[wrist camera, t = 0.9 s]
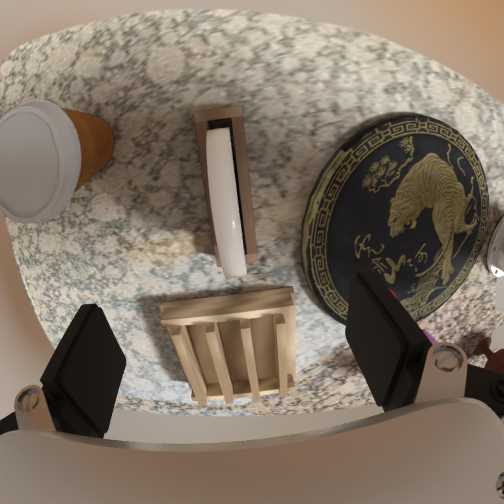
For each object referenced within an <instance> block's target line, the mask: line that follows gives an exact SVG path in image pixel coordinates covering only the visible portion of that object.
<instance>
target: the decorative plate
mask: <svg viewBox="0 0 504 504" xmlns="http://www.w3.org/2000/svg"><path fill="white" fill-rule="evenodd" d="M488 216H489V193H488V187H487V182H486V176H485V173H484V170H483V168H482V165H481V162H480V160H479V158H478V156H477V154H476V153H475V151H474V150H473V148H472V146H471V145H470V143H469V142H468V141H467V140H466V139H465V138H464V137H463V136H462V135H461V134H460V133H459V132H458V131H457V130H455V129H454V128H452V127H450V126H449V125H447V124H445V123H444V122H442V121H440V120H437V119H433V118H430V117H426V116H423V115H396V116H392V117H389V118H385V119H381V120H378V121H376V122H375V123H373V124H371V125H369V126H367V127H365V128H364V129H362V130H360V131H358V132H357V133H356V134H355V135H353V136H352V137H351V138H350V139H349V140H348V141H347V142H345V143H344V144H343V145H342V146H341V147H340V148H339V149H338V150H337V151H336V153H335V154H334V155H333V157H332V158H331V159H330V161H329V162H328V163H327V165H326V166H325V167H324V169H323V170H322V172H321V174H320V176H319V178H318V180H317V182H316V184H315V186H314V188H313V190H312V192H311V194H310V197H309V201H308V205H307V208H306V212H305V215H304V219H303V224H302V236H301V255H302V264H303V271H304V274H305V277H306V279H307V282H308V285H309V288H310V290H311V292H312V293H313V295H314V297H315V298H316V300H317V301H318V303H319V304H320V306H321V307H322V308H323V309H324V310H325V311H326V312H327V313H328V314H329V315H330V316H331V317H332V318H333V319H334V320H336V321H338V322H340V323H342V324H343V325H345V326H346V321H347V313H348V303H349V293H350V282H351V277H352V276H353V275H355V273H356V271H359V270H365V269H372V270H373V271H374V272H375V273H376V274H377V275H378V277H379V278H380V279H381V280H382V282H383V283H384V284H385V285H386V286H387V288H388V289H389V290H390V291H391V293H392V294H393V295H394V296H395V298H396V299H397V300H398V301H399V302H400V303H401V304H402V305H403V306H404V308H405V309H406V310H407V312H408V313H409V314H410V315H411V317H412V318H413V319H414V321H415V322H418V321H419V320H421V319H423V318H425V317H427V316H428V315H430V314H431V313H433V312H434V311H435V310H437V309H438V308H439V307H441V306H442V305H443V304H444V303H445V302H446V301H447V300H448V299H449V298H450V297H451V296H452V295H453V294H454V293H455V292H456V291H457V289H458V288H459V287H460V286H461V284H462V283H463V282H464V280H465V279H466V277H467V276H468V274H469V272H470V271H471V269H472V267H473V266H474V264H475V262H476V259H477V257H478V255H479V252H480V250H481V248H482V244H483V241H484V238H485V234H486V230H487V224H488Z"/></svg>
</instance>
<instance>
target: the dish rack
mask: <svg viewBox="0 0 504 504" xmlns="http://www.w3.org/2000/svg"><path fill="white" fill-rule="evenodd" d="M160 310H161V313H162V316H161V320H160V321H161V324H162V327H167V330H168V333H169V335H170V338H171V341H172V344H173V346H174V349H175V351H176V354H177V357H178V359H179V362H180V364H181V367H182V369H183V372H184V374H185V377H186V379H187V381H188V384H189V386H190V388H191V389H192V395H191V398H192V400H193V401H198V403H199V405H200V406H202V405H206V404H207V400H219V399H225V402H226V404H231V403H233V398H242V397H253V401H260V395H268V394H275V393H280V397H281V398H282V397H288V391H294V390H295V385H294V381H293V378H295V292H294V290H293V287H288V288H281V289H274V290H266V291H258V292H250V293H242V294H234V295H226V296H217V297H208V298H199V299H189V300H180V301H169V302H162V303H161V306H160Z"/></svg>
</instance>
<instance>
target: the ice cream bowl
mask: <svg viewBox="0 0 504 504" xmlns="http://www.w3.org/2000/svg"><path fill="white" fill-rule="evenodd" d="M490 344H491V337H487V338H485V339H483V340H482V341H481V343H480V344H479V345H478V346H477V348H476V349H475V353H474V354H475V355H477V356H479V355H482V354H485V355H486V357H487V359H488V361H487V362H486V364H485V367H484V369H488V370H491V371H495V372H499V373H502V374H504V349H501V350H498V351H497V352H495V353H493V352H492V351H491V350H490V349H489V347H490Z"/></svg>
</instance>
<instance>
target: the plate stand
mask: <svg viewBox="0 0 504 504" xmlns="http://www.w3.org/2000/svg"><path fill="white" fill-rule="evenodd" d="M225 118H231V121H232V130H233V139H234V147H235V156H236V165H237V173H238V182H239V190H240V199H241V207H242V216H243V224H244V232H245V241H246V244H243V248H244V256H245V264H246V263H254V262H258V255H257V246H256V236H255V226H254V217H253V207H252V198H251V188H250V179H249V169H248V160H247V151H246V141H245V132H244V123H243V114H242V105H241V106H232V107H223V108H216V109H209V110H202V111H196V112H194V119H195V127H196V134H197V142H198V149H199V156H200V163H201V170H202V177H203V184H204V190H205V197H206V203H207V209H208V216H209V222H210V228H211V234H212V240H213V246H214V251H215V257H216V263H217V267H222V265H221V261H220V256H219V251H218V246H217V241H216V235H215V229H214V223H213V217H212V210H211V202H210V193H209V181H208V169H207V152H206V137H207V131H208V130H209V123H208V121H210V120H217V119H225Z"/></svg>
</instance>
